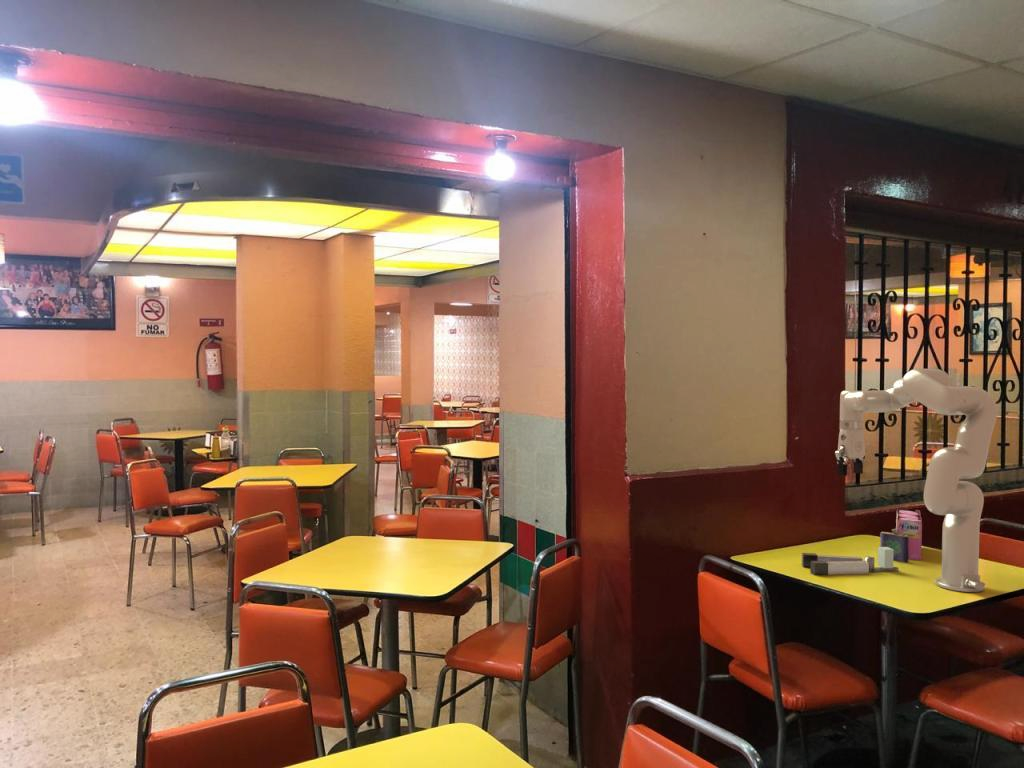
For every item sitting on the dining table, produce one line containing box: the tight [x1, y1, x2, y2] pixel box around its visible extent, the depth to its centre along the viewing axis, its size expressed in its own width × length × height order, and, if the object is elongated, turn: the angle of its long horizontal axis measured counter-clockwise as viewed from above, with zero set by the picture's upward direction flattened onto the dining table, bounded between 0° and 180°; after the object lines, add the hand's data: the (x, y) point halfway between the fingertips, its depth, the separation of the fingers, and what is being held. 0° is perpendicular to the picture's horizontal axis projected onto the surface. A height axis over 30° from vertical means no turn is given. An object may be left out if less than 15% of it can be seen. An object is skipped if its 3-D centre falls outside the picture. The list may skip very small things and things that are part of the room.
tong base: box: [809, 556, 899, 576], centre depth 244 cm, size 4×30×4 cm, turn 97°
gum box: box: [895, 508, 923, 561], centre depth 272 cm, size 24×8×14 cm, turn 153°
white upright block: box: [877, 546, 894, 568], centre depth 246 cm, size 4×3×6 cm
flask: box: [879, 528, 909, 564], centre depth 260 cm, size 9×3×11 cm, turn 41°
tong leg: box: [801, 552, 864, 568], centre depth 249 cm, size 3×18×4 cm, turn 78°
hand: (850, 474), depth 267 cm, fingers open, 9 cm apart
